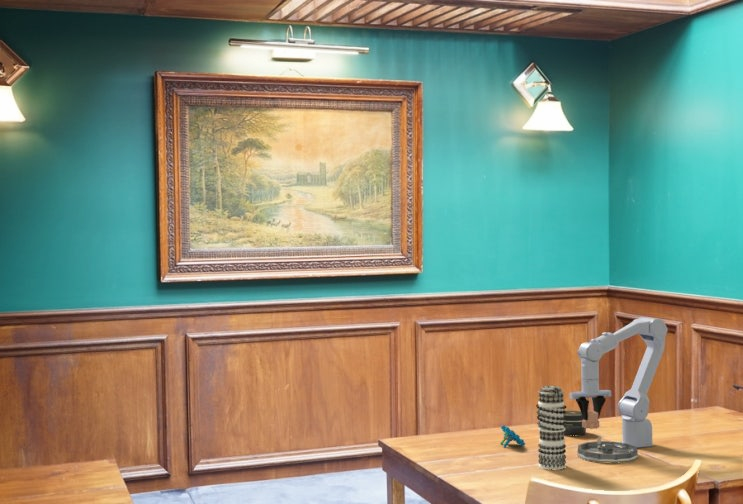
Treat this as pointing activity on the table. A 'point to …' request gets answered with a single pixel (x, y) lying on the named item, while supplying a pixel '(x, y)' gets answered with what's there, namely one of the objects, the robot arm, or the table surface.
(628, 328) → the robot arm
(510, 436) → the blue t-shaped piece
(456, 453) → the table surface
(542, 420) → the decorative candle
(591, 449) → the plate
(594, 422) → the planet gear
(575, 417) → the jar
